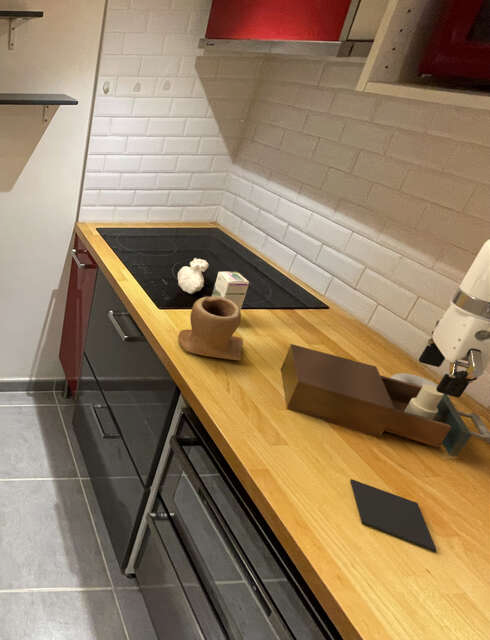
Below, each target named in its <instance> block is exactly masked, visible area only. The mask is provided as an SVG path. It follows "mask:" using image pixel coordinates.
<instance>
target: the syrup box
mask: <svg viewBox="0 0 490 640" xmlns="http://www.w3.org/2000/svg"><path fill="white" fill-rule="evenodd" d="M249 285H250V282H249V280H247V278H245V277H244V276H243V275H242V274H241V273H240V272H238V271H218V272H217V277H216V281H215V283H214V287H213V291H212V294H211V297H214V296H218V297H223V298H226V299H229V300H231V301H233V302H234V303H235V304H236V305H237V306H238V307H239V308H240V311H241V310H242V308H243V305H244V304H243V303H244V300H245V299H246V298H245V297H246V294H247V291H248V288H249Z"/></svg>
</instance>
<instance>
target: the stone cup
mask: <svg viewBox="0 0 490 640" xmlns="http://www.w3.org/2000/svg"><path fill="white" fill-rule="evenodd" d="M241 321H242V313H241V310H240V308H239V307H238V306H237V305H236V304H235V303H234V302H233V301H231V300H229V299H226V298H223V297H218V296H214V297H212V296H203V297H200V298H199V299H198V298H197V300H196V301H195V302H194V303H193V305H192V308H191V312H190V327H191V329H182V330H180V331H179V333H178V343H179V345H180V346H181V347H182V348H183V349H184V350H185V351H186V352H188V353H191V354H194V355H199V356H204V357H210V358H217V359H224V360H232V361H241V359H242V348H243V346H244V340H243V338H242V337H241V336H235V335H234V333H235V332H236V331H237V330H238V328H239V326H240V324H241Z"/></svg>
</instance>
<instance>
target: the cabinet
mask: <svg viewBox="0 0 490 640" xmlns="http://www.w3.org/2000/svg"><path fill="white" fill-rule="evenodd" d="M280 373H281V379H282V381H281V382H282V386H283V394H284V399H285V400H284V401H285V406H286V407H285V408H286V409H287V410H290V411H294V412H296V413H299V414H301V415H305V416H308V417H311V418H315V419H318V420H320V421H324V422H327V423H331V424H333V425H337V426H340V427H342V428H346V429H348V430H352V431H354V432H355V431H356V432H358V433H362V434H365V435H368V436H371V437H374V438H377V439H380V438H381V437H382V435H383V433H384V432H385V431H384V430H385V428H386V426H387V424H388V422H389V421H390V419H391V417H392V415H393V414H394V412H395V408H394V405H393V403H392V401H391V399H390V396H389V394H388V392H387V390H386V388H385V385H384V383H383V381H382V379H381V376H382V375H381V374H380V372H379V370H378V368H377V366H376V365H372V364H368V363H364V362H361V361H357V360H354V359H349V358H345V357H342V356H337V355H335V354H332V353H331V354H330V353H326V352H323V351H318V350H315V349H312V348H308V347H304V346H301V345H296V344H294V343H293V344H292V343H291V344H290V346H289V347H288V351H287V353H286V356H285V358H284V360H283V363H282V365H281V368H280ZM380 375H381V376H380Z"/></svg>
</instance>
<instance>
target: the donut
mask: <svg viewBox="0 0 490 640" xmlns="http://www.w3.org/2000/svg"><path fill="white" fill-rule="evenodd" d="M390 378H392V379H396V380H399V381H403V382H407V383H410V384H414V385H418V386H421V387H423V385H425V384H428V385H432V386H435V387H437V386H438V385H439V384H437V383H436V382H434V381H432V380H430V379H428V378H426V377H423V376H420V375H417V374H413V373H407V372H399V373H394V374H392V376H390ZM448 397H449V399H450V400H451V396H450V395H448Z"/></svg>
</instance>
